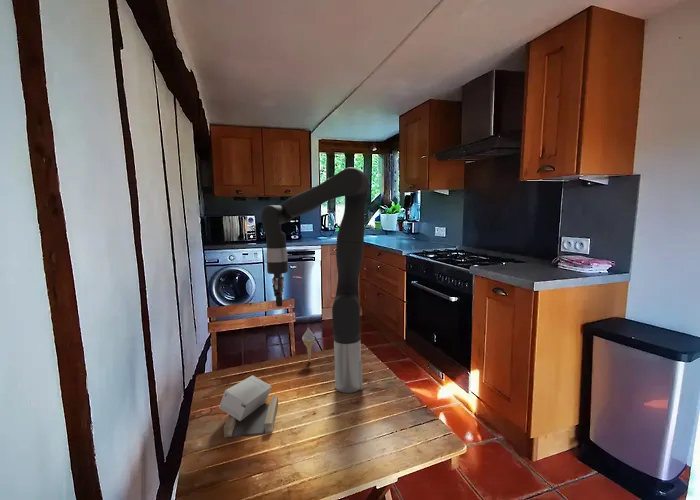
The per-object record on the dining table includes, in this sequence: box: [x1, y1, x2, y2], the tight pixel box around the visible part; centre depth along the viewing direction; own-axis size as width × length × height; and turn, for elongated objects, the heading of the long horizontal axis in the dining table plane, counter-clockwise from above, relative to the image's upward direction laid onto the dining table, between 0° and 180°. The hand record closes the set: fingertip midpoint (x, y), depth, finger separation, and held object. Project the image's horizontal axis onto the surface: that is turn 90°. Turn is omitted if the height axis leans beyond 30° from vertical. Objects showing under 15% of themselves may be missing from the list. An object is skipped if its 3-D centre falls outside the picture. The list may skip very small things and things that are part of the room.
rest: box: [223, 395, 279, 438], centre depth 98 cm, size 13×14×3 cm
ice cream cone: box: [301, 326, 316, 363], centre depth 136 cm, size 6×6×15 cm
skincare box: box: [218, 374, 273, 421], centre depth 102 cm, size 8×6×15 cm
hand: (279, 305), depth 123 cm, fingers closed
